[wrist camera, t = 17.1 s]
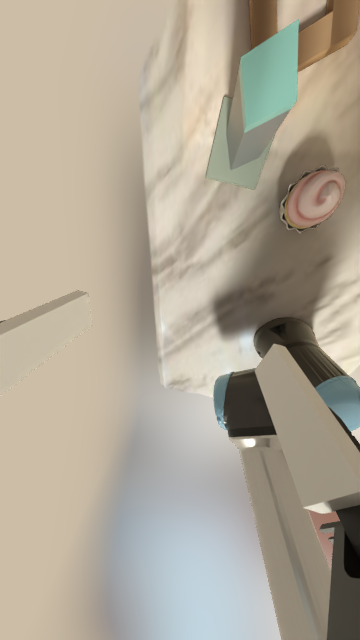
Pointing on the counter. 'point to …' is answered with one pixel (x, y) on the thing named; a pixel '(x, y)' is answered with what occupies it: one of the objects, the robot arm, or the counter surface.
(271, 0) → the brown square frame
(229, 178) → the pad
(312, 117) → the counter surface
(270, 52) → the plug
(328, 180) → the cupcake
